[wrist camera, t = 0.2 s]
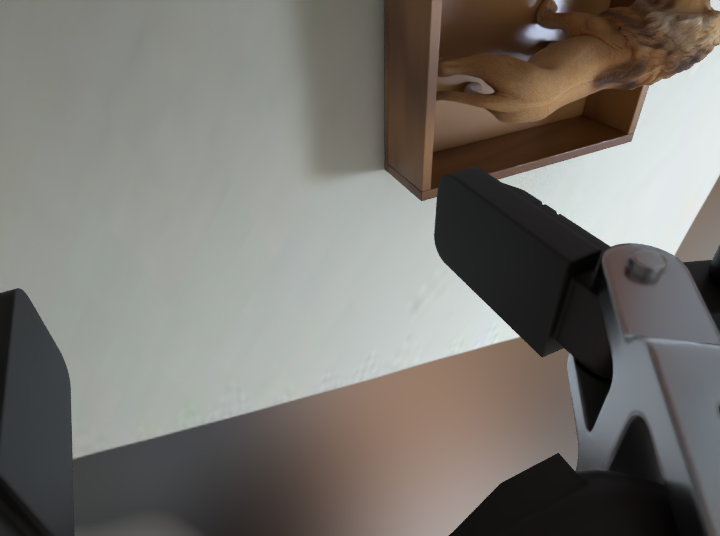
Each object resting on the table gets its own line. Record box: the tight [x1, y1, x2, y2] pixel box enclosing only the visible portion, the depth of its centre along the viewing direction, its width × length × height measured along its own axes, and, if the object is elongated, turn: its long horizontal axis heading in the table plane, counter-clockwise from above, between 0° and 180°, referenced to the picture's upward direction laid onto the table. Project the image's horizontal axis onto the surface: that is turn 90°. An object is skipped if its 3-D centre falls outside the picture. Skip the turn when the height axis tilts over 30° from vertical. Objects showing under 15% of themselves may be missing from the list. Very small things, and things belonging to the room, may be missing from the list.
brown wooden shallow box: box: [385, 0, 649, 201], centre depth 28 cm, size 13×16×4 cm
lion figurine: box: [436, 0, 720, 123], centre depth 27 cm, size 15×5×9 cm, turn 112°
